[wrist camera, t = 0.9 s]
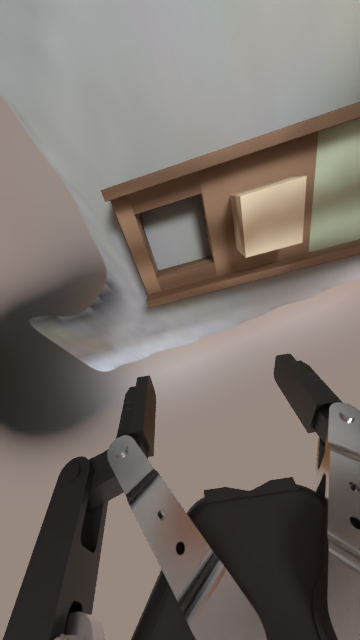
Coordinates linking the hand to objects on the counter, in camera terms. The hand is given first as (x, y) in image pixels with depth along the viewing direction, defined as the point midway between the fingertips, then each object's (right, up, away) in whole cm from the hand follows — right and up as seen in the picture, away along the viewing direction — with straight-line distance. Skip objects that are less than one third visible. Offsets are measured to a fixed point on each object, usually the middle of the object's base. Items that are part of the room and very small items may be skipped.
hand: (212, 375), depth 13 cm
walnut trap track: (+12, +18, +13) cm, 25 cm away
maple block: (+7, +16, +11) cm, 20 cm away
